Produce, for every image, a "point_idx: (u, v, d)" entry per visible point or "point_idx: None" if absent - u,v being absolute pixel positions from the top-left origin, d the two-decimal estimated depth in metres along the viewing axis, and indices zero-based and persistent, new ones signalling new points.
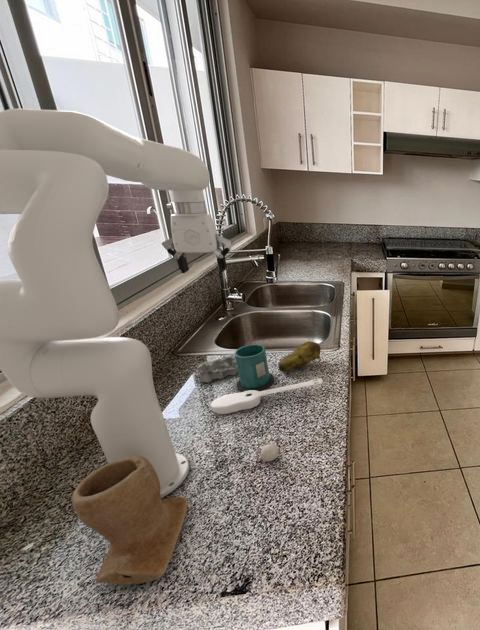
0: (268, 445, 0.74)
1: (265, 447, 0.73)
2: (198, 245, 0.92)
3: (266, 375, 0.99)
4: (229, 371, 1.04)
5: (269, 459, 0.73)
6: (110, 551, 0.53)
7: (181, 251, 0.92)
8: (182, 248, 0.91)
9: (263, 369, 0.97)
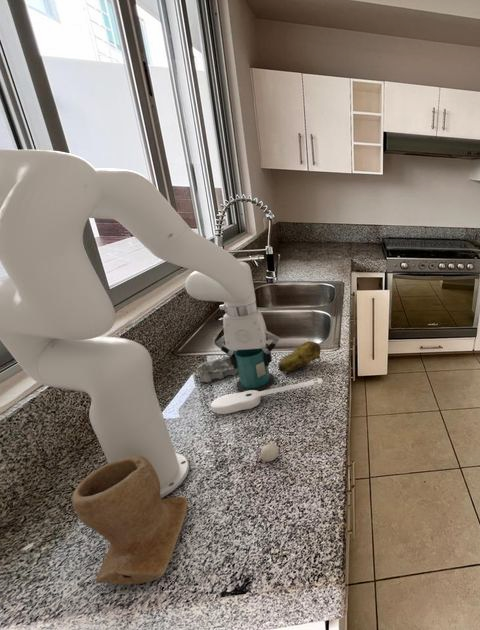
0: (268, 445, 0.74)
1: (265, 447, 0.73)
2: (249, 343, 0.93)
3: (266, 375, 0.99)
4: (229, 371, 1.04)
5: (269, 459, 0.73)
6: (110, 551, 0.53)
7: (232, 349, 0.93)
8: (233, 346, 0.92)
9: (263, 369, 0.97)
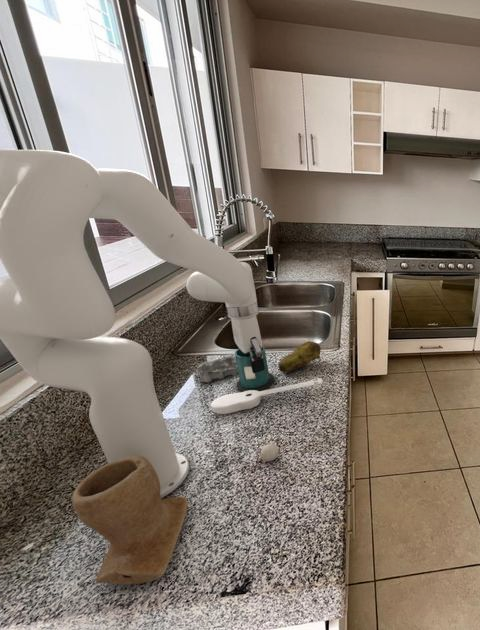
0: (268, 445, 0.74)
1: (265, 447, 0.73)
2: (239, 343, 0.93)
3: (258, 380, 0.97)
4: (229, 371, 1.04)
5: (269, 459, 0.73)
6: (110, 551, 0.53)
7: (235, 342, 0.97)
8: (235, 340, 0.96)
9: (252, 373, 0.95)
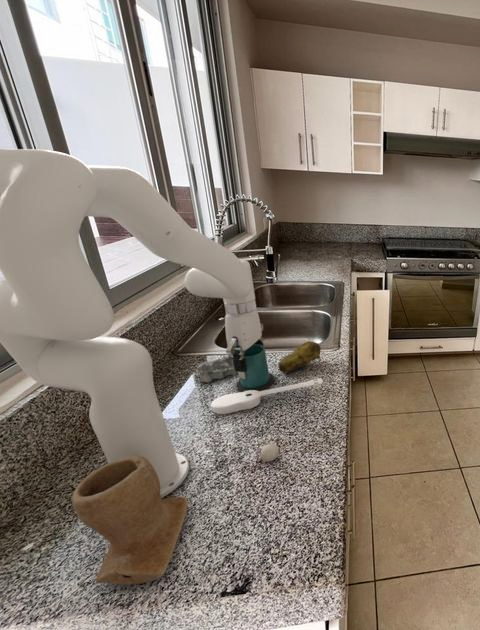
0: (268, 445, 0.74)
1: (265, 447, 0.73)
2: None
3: (248, 381, 0.96)
4: (229, 371, 1.04)
5: (269, 459, 0.73)
6: (110, 551, 0.53)
7: None
8: None
9: (242, 373, 0.95)
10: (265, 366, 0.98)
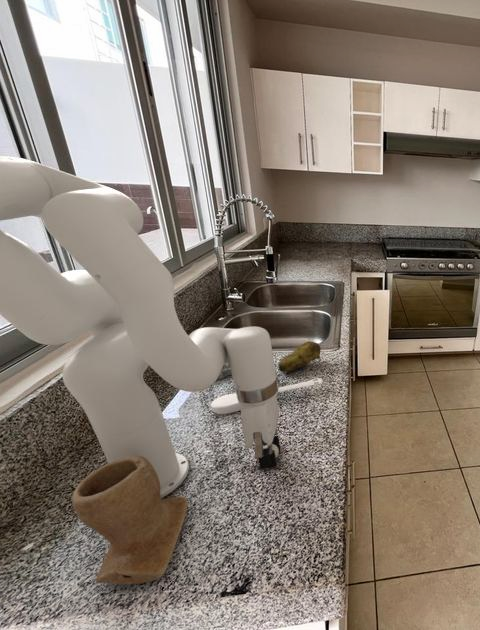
0: None
1: (265, 447, 0.73)
2: None
3: None
4: (229, 371, 1.04)
5: None
6: (110, 551, 0.53)
7: None
8: None
9: None
10: None
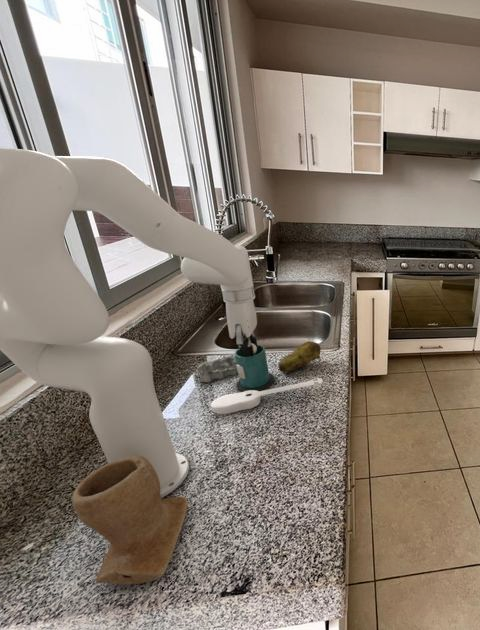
0: None
1: None
2: None
3: (248, 381, 0.96)
4: (229, 371, 1.04)
5: None
6: (110, 551, 0.53)
7: None
8: None
9: (243, 373, 0.95)
10: (265, 366, 0.98)
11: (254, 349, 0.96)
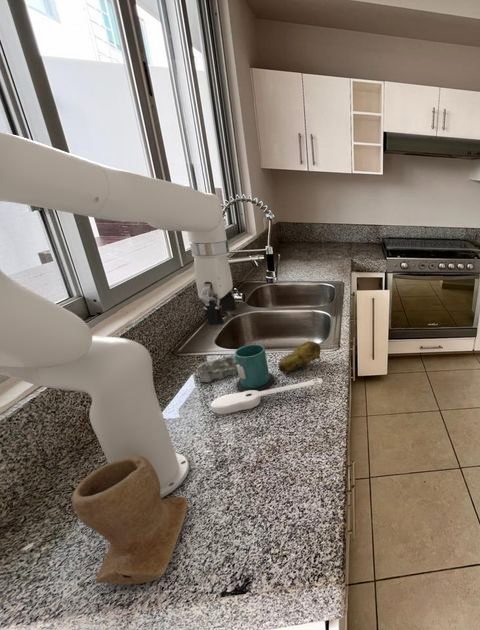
0: None
1: None
2: None
3: (248, 381, 0.96)
4: (229, 371, 1.04)
5: None
6: (110, 551, 0.53)
7: None
8: None
9: (243, 373, 0.95)
10: (265, 366, 0.98)
11: None
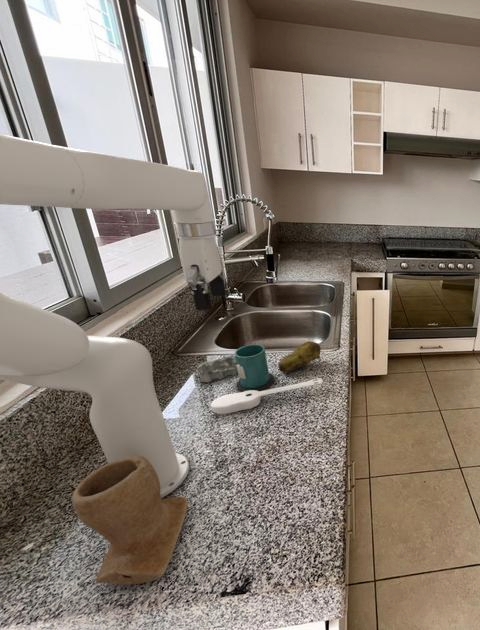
0: None
1: None
2: None
3: (248, 381, 0.96)
4: (229, 371, 1.04)
5: None
6: (110, 551, 0.53)
7: None
8: None
9: (243, 373, 0.95)
10: (265, 366, 0.98)
11: None
